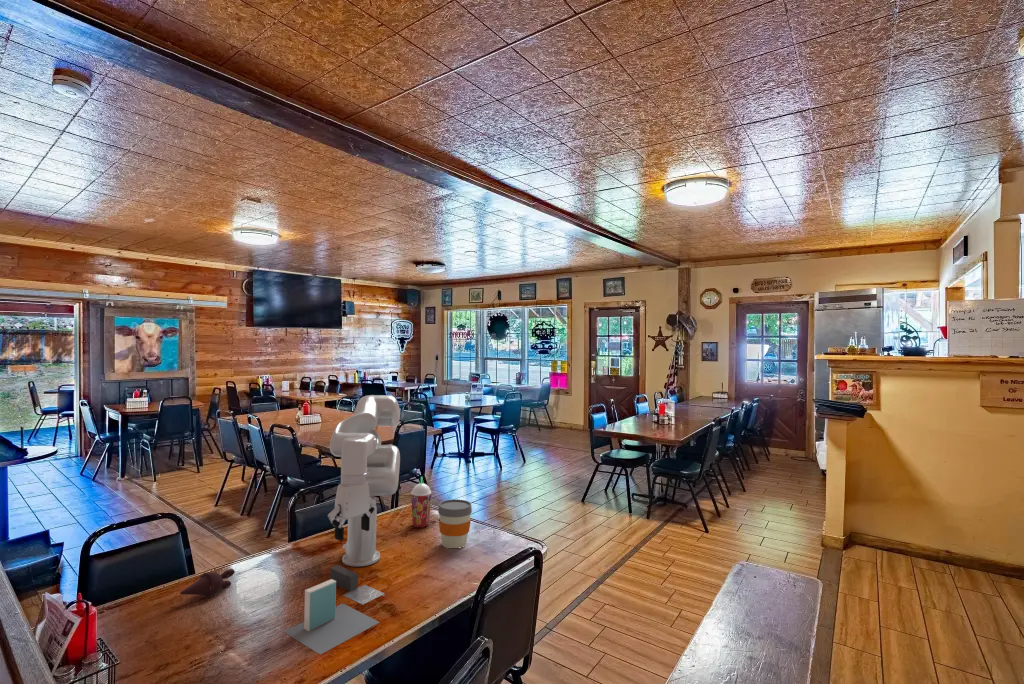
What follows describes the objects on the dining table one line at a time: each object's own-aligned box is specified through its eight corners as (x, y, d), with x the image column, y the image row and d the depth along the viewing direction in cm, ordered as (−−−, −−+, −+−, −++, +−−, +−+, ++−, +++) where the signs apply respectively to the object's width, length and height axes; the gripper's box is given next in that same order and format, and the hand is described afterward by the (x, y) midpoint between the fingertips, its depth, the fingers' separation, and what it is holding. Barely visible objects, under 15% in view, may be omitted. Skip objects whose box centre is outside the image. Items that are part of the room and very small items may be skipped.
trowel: (322, 587, 157) (322, 570, 157) (344, 577, 164) (345, 562, 164) (362, 607, 146) (362, 589, 146) (384, 596, 153) (384, 579, 153)
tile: (304, 628, 133) (304, 590, 133) (330, 615, 140) (331, 579, 140) (309, 631, 132) (310, 592, 132) (335, 618, 139) (336, 581, 139)
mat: (283, 633, 132) (283, 631, 132) (342, 605, 147) (342, 603, 147) (320, 657, 123) (320, 654, 123) (379, 624, 137) (379, 622, 137)
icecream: (190, 588, 142) (242, 572, 155) (177, 574, 145) (229, 560, 158) (183, 611, 142) (236, 594, 155) (171, 597, 146) (223, 581, 159)
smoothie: (434, 523, 213) (435, 475, 213) (423, 530, 206) (424, 480, 206) (418, 520, 217) (419, 473, 217) (406, 526, 209) (407, 477, 209)
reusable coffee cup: (453, 535, 201) (454, 497, 201) (477, 543, 194) (478, 503, 194) (430, 545, 191) (431, 505, 191) (455, 554, 184) (456, 512, 184)
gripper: (368, 471, 165) (366, 524, 166) (321, 482, 151) (320, 540, 151) (384, 474, 161) (382, 529, 161) (337, 487, 147) (336, 546, 147)
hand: (352, 534), depth 156 cm, fingers open, 9 cm apart
